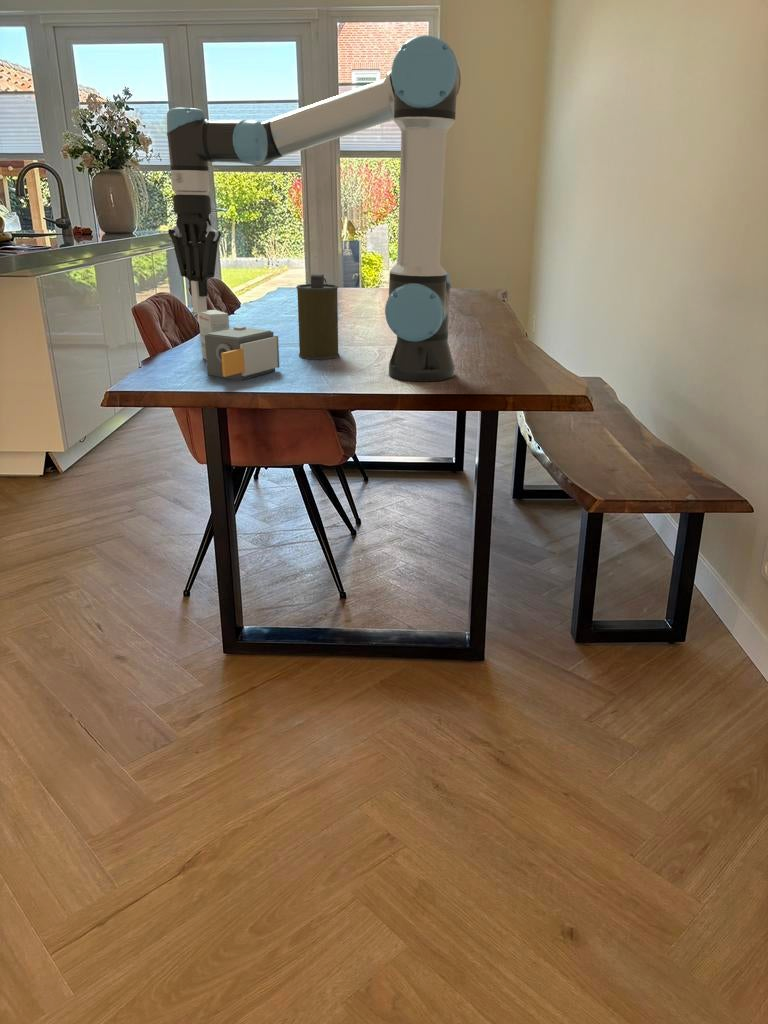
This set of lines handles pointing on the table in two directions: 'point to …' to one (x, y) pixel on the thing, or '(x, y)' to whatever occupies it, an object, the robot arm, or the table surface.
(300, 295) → the canister
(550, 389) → the table surface
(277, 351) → the side door
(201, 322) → the ink box
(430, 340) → the robot arm
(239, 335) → the camera body
